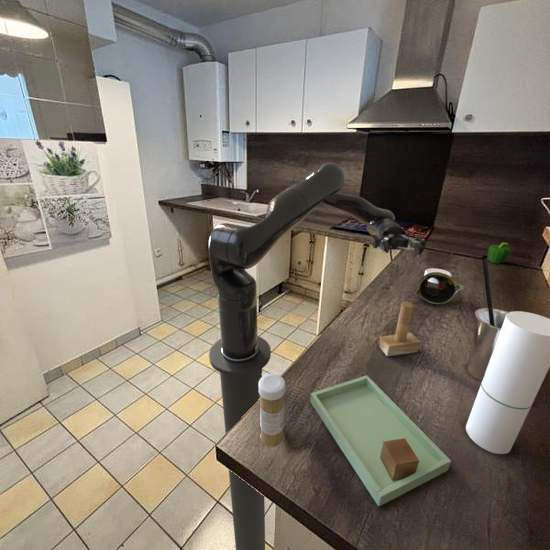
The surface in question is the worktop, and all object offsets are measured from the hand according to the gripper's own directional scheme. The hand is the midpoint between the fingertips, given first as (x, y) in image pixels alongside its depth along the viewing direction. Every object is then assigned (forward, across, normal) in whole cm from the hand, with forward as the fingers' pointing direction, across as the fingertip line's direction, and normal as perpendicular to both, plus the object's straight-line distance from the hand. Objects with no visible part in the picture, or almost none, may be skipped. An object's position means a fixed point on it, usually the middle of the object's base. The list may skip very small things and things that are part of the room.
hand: (403, 250), depth 78 cm
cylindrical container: (+35, -10, -25) cm, 45 cm away
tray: (+37, +11, -25) cm, 46 cm away
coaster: (-41, -28, -25) cm, 55 cm away
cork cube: (+44, +8, -24) cm, 51 cm away
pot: (-23, -21, -25) cm, 40 cm away
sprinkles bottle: (+41, +30, -25) cm, 57 cm away
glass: (+17, -17, -25) cm, 35 cm away
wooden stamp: (+10, 0, -25) cm, 27 cm away
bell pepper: (-68, -64, -25) cm, 97 cm away
